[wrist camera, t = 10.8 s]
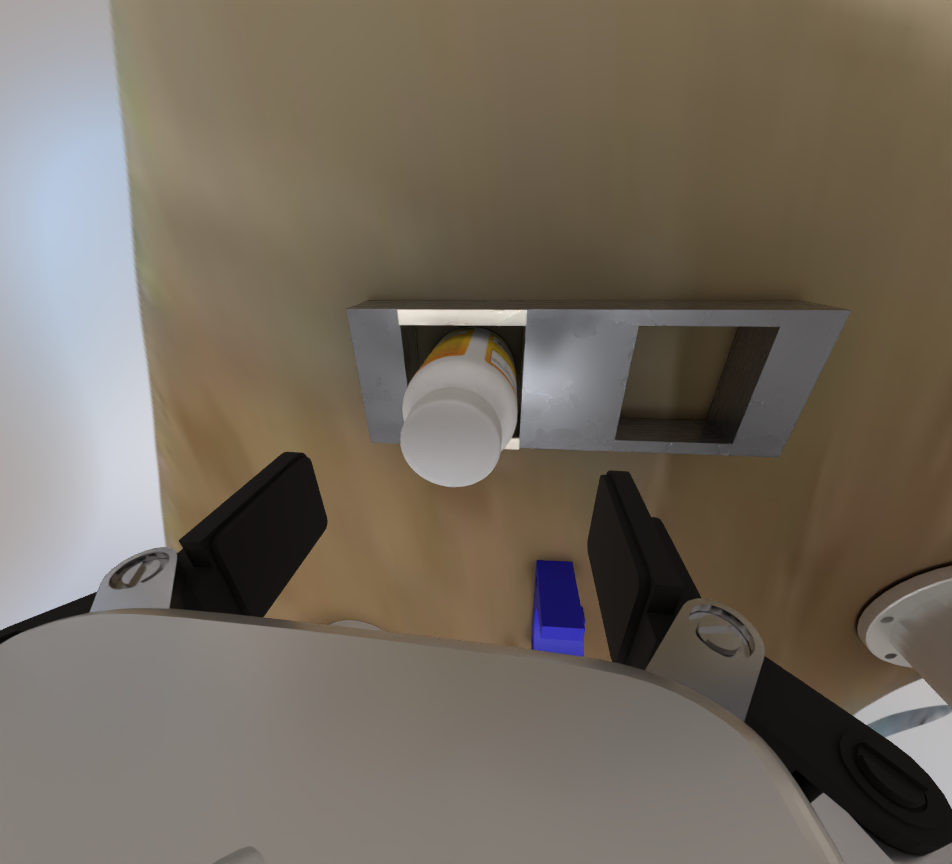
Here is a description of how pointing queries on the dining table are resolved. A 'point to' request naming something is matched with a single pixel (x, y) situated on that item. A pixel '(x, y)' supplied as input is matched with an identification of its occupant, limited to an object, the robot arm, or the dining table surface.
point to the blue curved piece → (557, 610)
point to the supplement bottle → (460, 408)
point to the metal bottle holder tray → (611, 369)
